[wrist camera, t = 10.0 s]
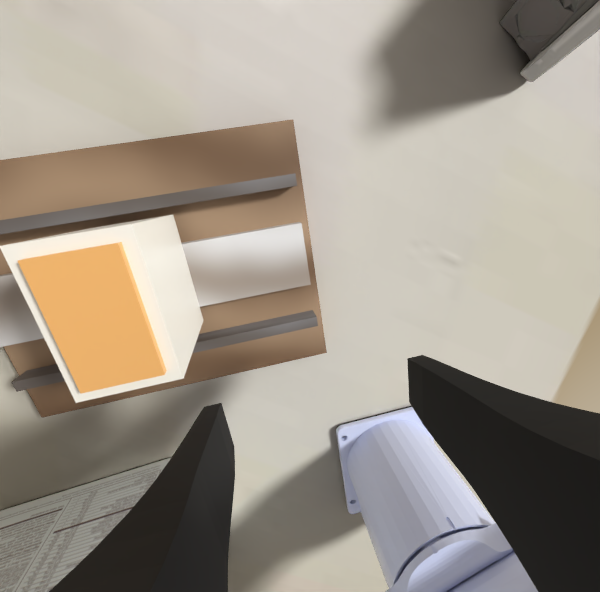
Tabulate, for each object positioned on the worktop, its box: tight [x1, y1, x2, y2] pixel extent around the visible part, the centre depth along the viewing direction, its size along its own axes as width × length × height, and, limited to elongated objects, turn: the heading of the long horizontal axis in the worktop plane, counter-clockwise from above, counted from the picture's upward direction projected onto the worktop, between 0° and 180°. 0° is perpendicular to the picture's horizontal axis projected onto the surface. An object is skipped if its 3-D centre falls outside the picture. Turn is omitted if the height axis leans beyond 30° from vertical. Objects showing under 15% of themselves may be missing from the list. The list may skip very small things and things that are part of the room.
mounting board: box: [0, 120, 327, 417], centre depth 17 cm, size 14×18×2 cm
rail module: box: [0, 215, 203, 403], centre depth 13 cm, size 6×4×6 cm, turn 9°
